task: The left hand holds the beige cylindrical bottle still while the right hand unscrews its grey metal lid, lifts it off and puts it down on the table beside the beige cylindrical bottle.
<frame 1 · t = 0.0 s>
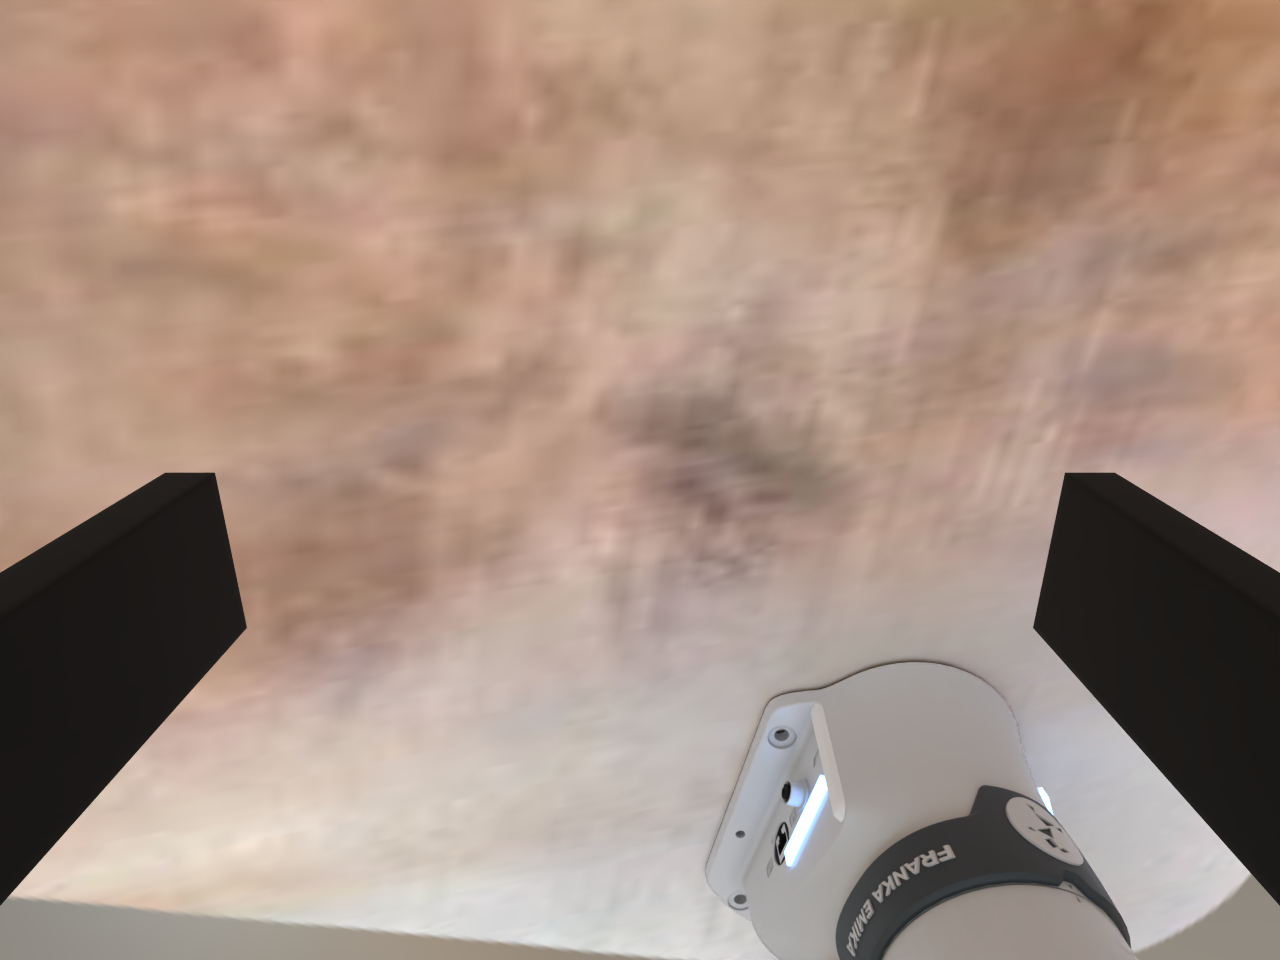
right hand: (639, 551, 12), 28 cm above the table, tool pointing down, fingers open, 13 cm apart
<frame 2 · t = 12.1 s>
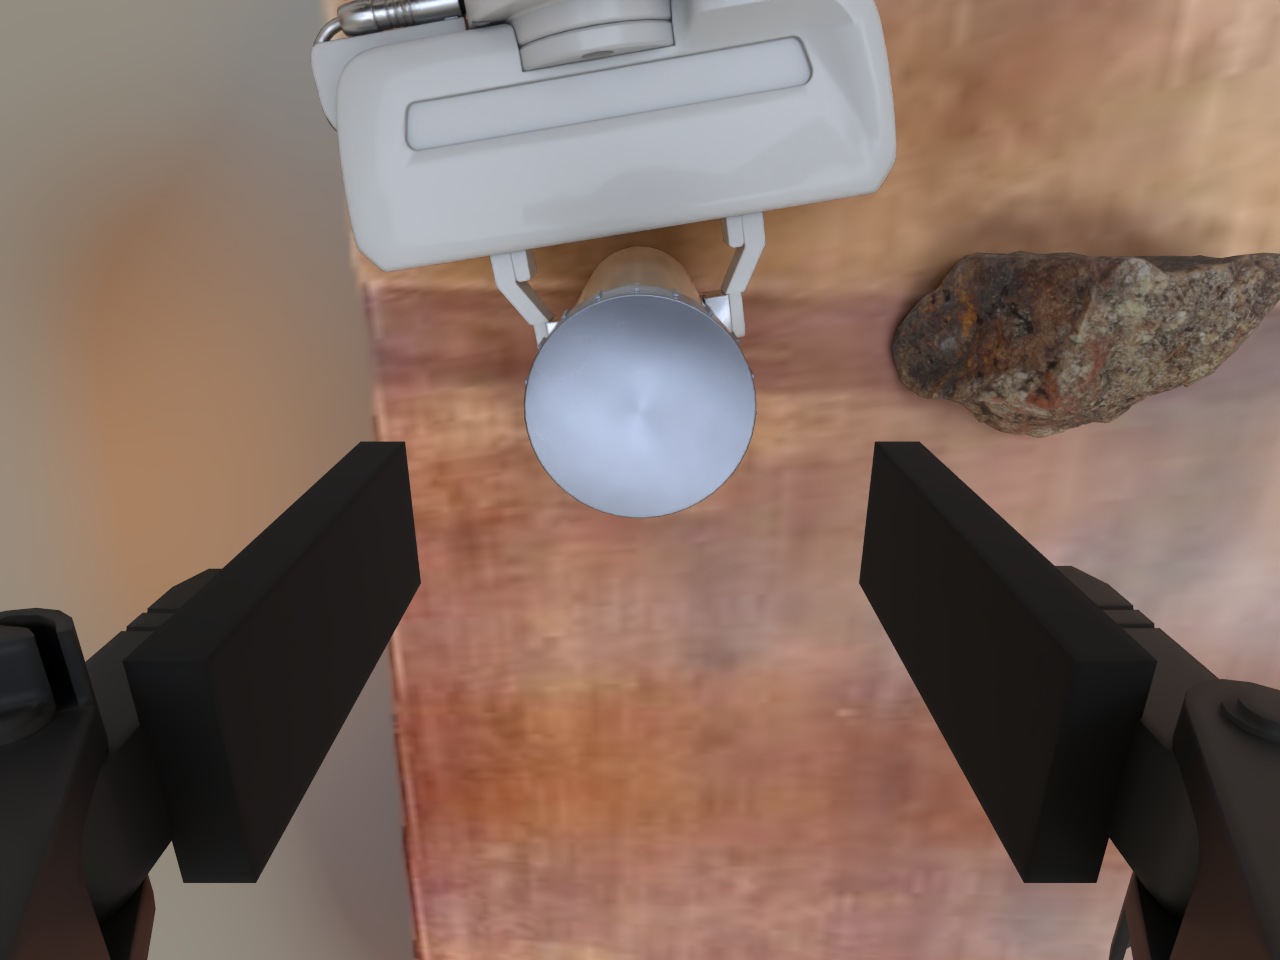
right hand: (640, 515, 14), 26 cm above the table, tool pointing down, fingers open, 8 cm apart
left hand: (644, 349, 32), fingers closed on beige cylindrical bottle, 5 cm apart
beige cylindrical bottle: (639, 304, 38), on the table, touching left hand
lid: (640, 408, 20), point 19 cm above the table, screwed on, not yet turned
rock: (1040, 330, 38), on the table
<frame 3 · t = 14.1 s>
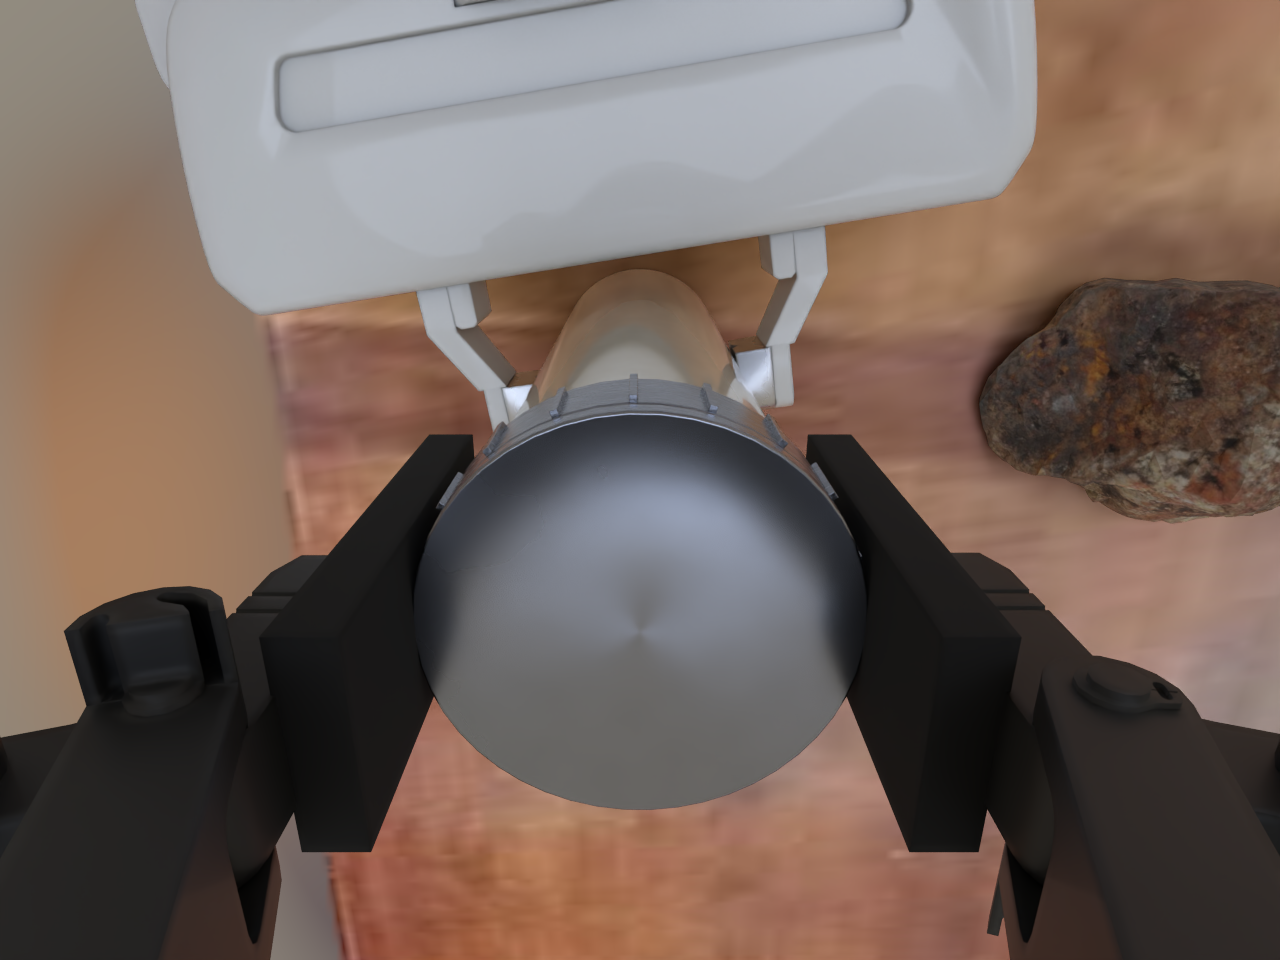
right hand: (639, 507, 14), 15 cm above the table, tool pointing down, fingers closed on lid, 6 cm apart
beige cylindrical bottle: (639, 346, 28), on the table, touching left hand
lid: (640, 617, 10), point 19 cm above the table, screwed on, not yet turned, touching right hand
rock: (1178, 381, 28), on the table
when the right hand's fingers open (15 cm above the table, at t = 15.5 s): lid stays where it is, point 19 cm above the table.
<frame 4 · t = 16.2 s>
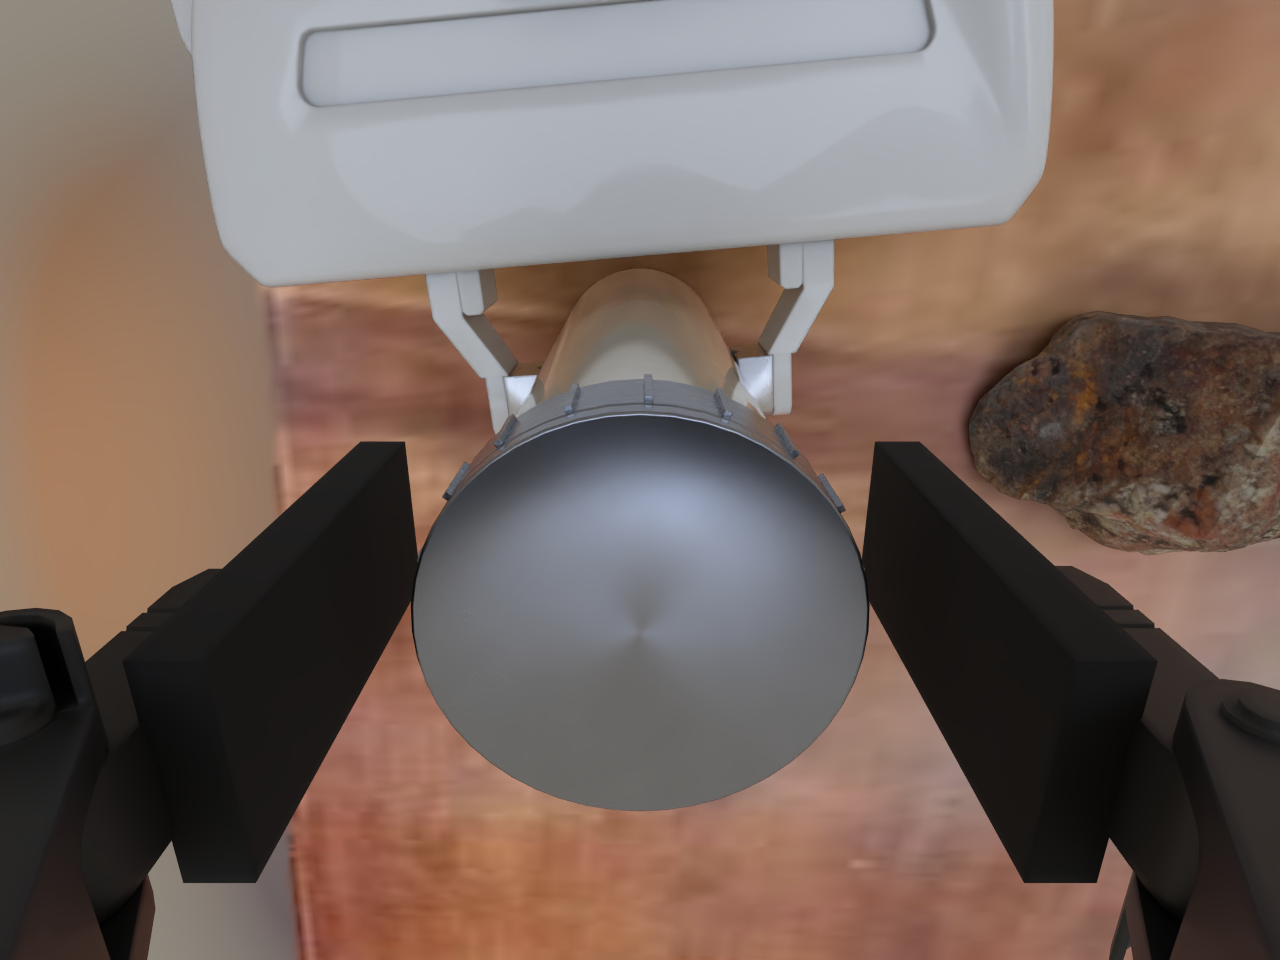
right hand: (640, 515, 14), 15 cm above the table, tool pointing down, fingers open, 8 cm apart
beige cylindrical bottle: (640, 345, 28), on the table, touching left hand
lid: (640, 618, 10), point 19 cm above the table, turned 76° so far, risen 0.2 cm, still on its thread
rock: (1162, 416, 29), on the table
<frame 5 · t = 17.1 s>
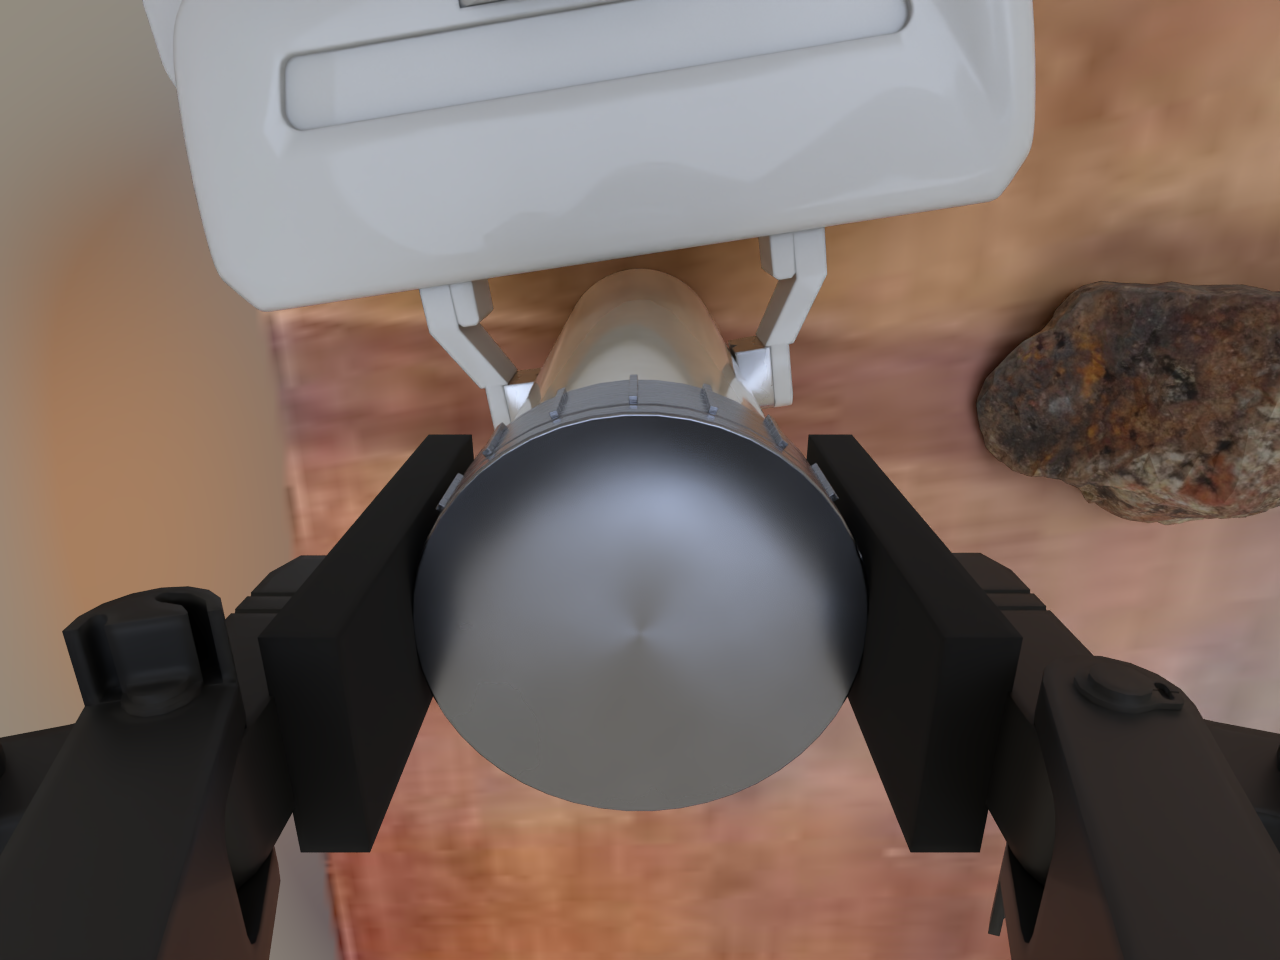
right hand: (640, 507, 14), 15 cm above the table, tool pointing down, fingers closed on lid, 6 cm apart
beige cylindrical bottle: (640, 345, 28), on the table, touching left hand
lid: (640, 619, 10), point 19 cm above the table, turned 76° so far, risen 0.2 cm, still on its thread, touching right hand
rock: (1174, 383, 29), on the table
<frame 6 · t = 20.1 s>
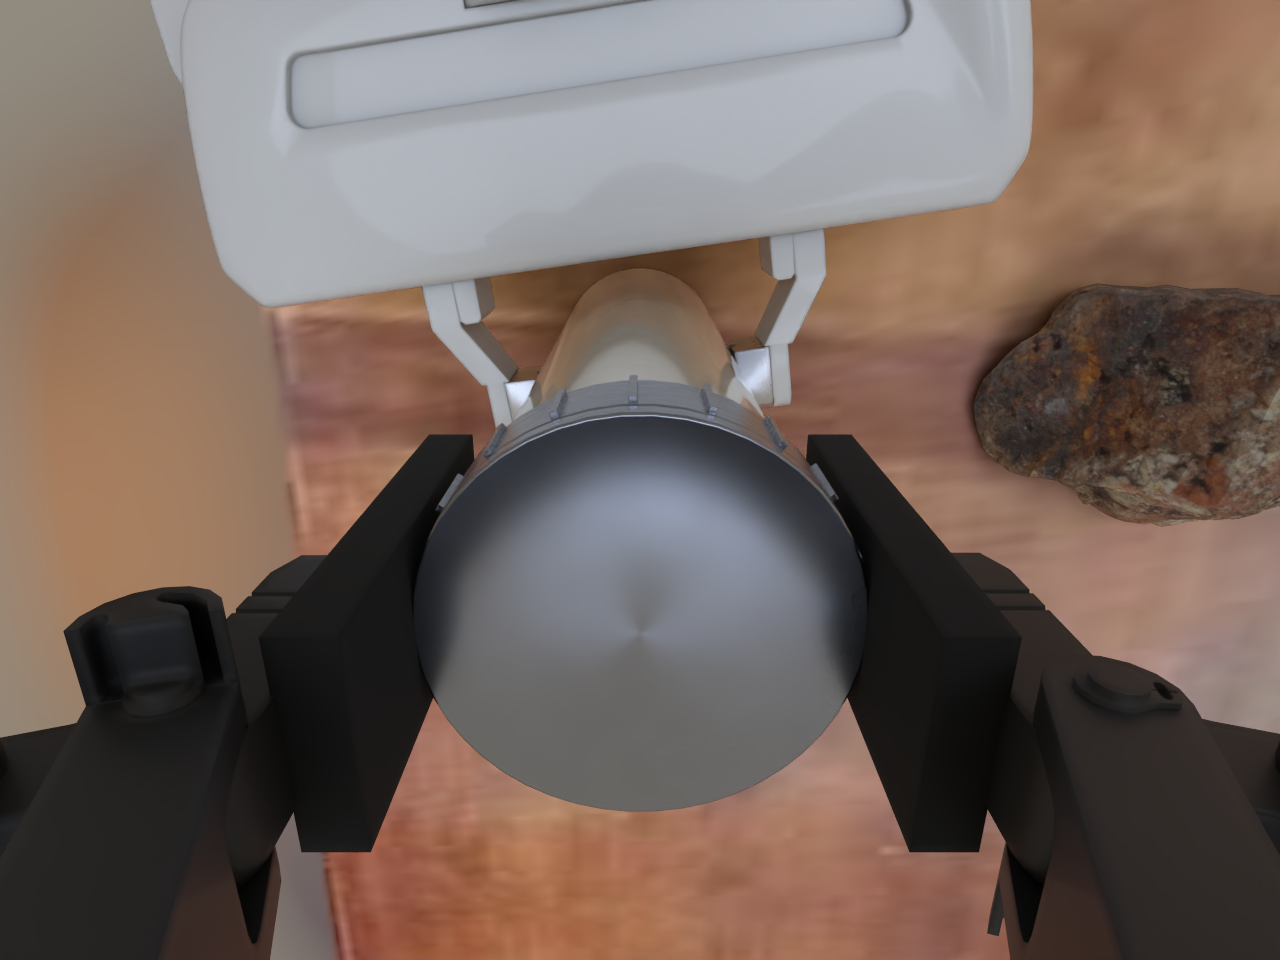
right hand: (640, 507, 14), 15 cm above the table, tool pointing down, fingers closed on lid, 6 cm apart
beige cylindrical bottle: (640, 345, 28), on the table, touching left hand
lid: (640, 619, 10), point 19 cm above the table, turned 153° so far, risen 0.4 cm, still on its thread, touching right hand
rock: (1169, 386, 29), on the table
when the right hand's fingers open (0 cm above the table, at t = 26.9 s): lid drops 3 cm, point 1 cm above the table.
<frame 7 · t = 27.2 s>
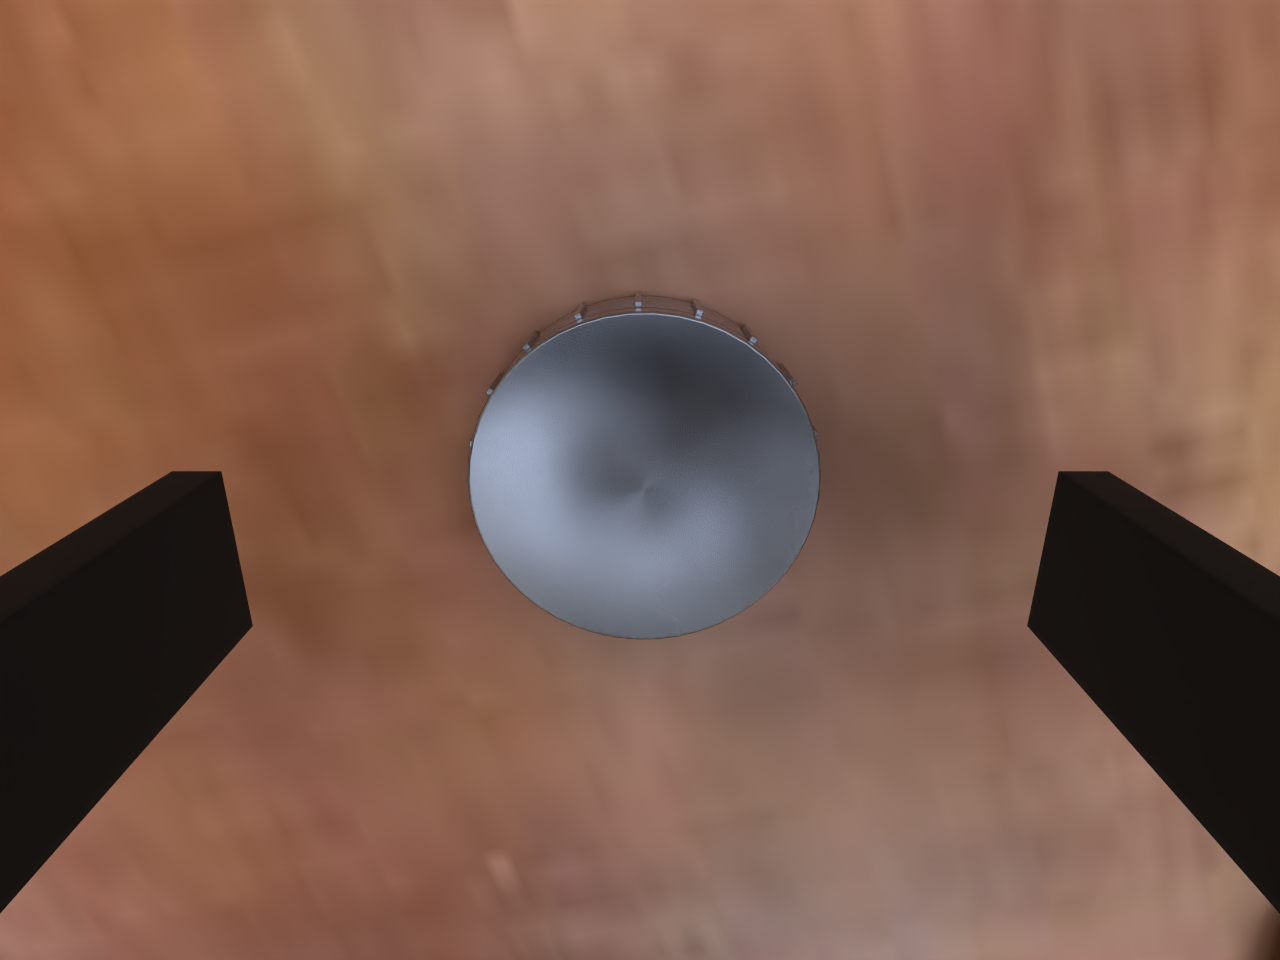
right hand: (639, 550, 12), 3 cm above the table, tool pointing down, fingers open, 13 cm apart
lid: (644, 481, 13), point 1 cm above the table, off its thread
when the left hand's fingers open (7 cm above the table, at t = 27.7 s): beige cylindrical bottle stays where it is, on the table.
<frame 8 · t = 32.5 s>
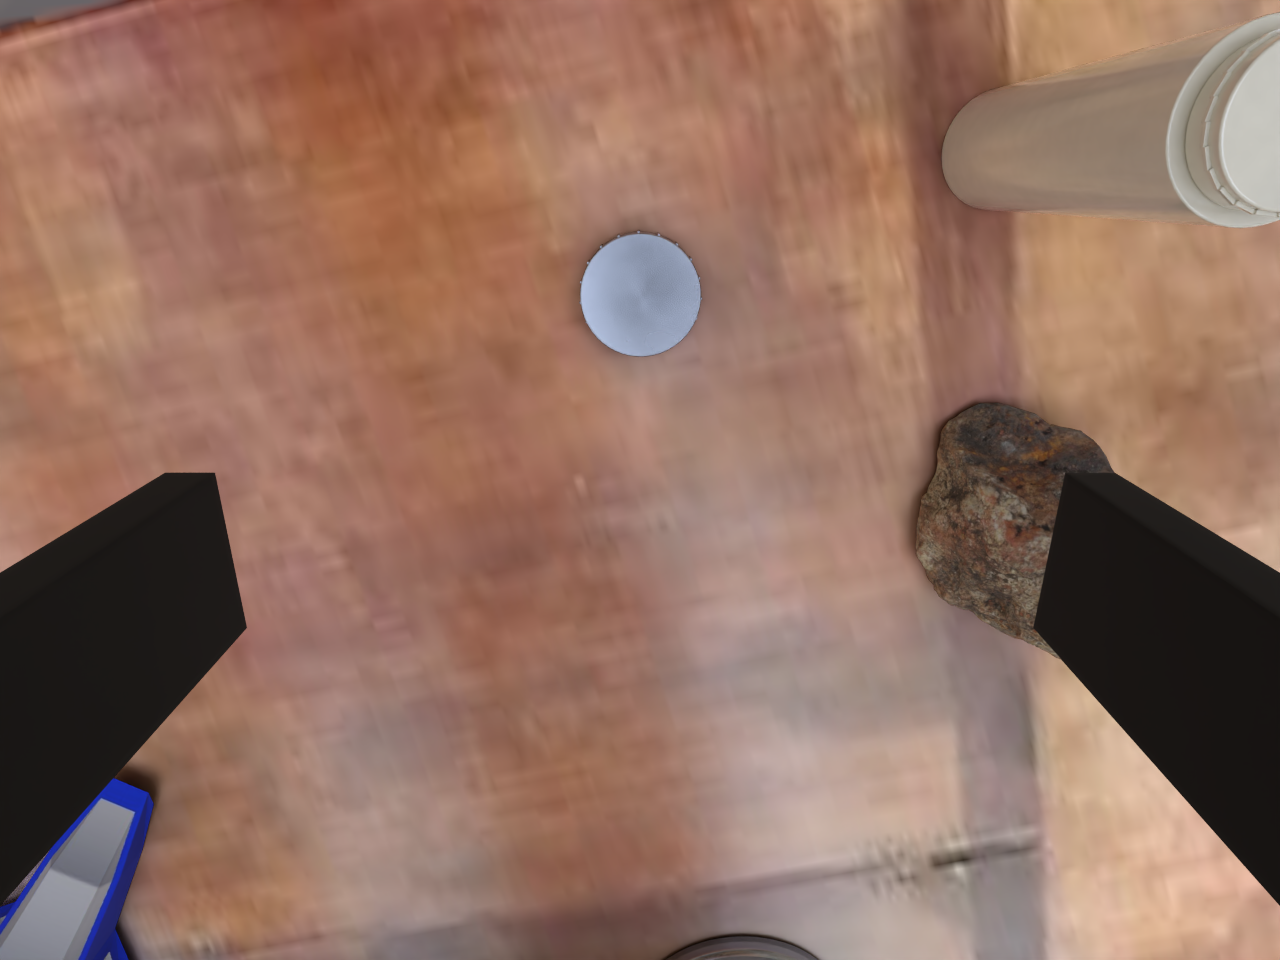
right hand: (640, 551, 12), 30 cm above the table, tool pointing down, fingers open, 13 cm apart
toy spaceship: (69, 926, 55), on the table
beige cylindrical bottle: (998, 150, 37), on the table
lid: (640, 295, 39), point 1 cm above the table, off its thread
rock: (998, 520, 44), on the table
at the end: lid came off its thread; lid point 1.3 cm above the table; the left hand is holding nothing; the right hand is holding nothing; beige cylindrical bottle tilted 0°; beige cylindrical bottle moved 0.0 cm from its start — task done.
